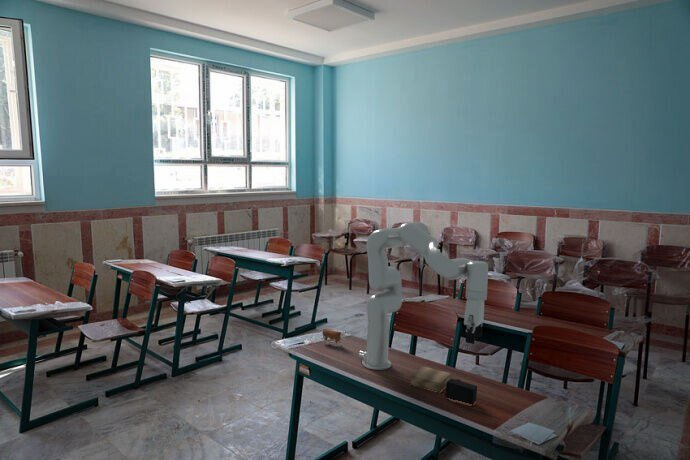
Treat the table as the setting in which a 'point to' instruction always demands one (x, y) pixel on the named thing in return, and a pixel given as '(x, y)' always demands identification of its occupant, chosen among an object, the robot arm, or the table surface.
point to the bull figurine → (333, 336)
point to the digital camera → (461, 391)
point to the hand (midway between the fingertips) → (473, 339)
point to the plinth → (430, 379)
